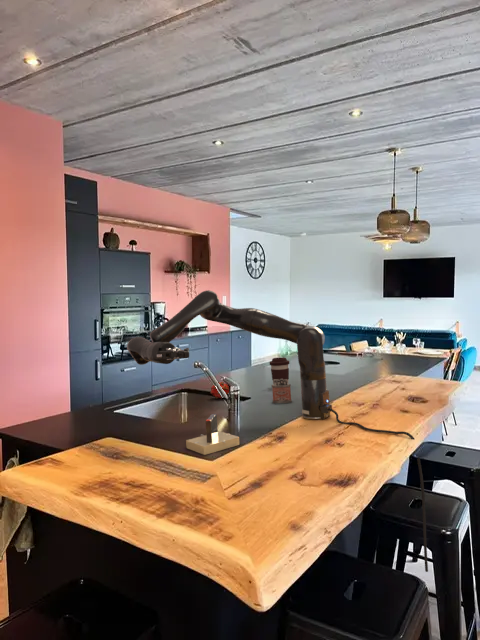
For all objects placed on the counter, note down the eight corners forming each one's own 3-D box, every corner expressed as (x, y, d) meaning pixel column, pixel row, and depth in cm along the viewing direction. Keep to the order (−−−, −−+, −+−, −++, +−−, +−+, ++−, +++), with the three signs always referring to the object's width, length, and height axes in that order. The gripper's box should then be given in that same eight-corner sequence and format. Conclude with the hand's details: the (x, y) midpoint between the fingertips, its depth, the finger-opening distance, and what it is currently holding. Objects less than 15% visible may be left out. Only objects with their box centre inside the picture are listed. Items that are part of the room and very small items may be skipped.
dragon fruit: (211, 400, 228) (232, 405, 222) (203, 393, 222) (225, 398, 216) (218, 384, 232) (239, 389, 226) (210, 376, 225) (232, 381, 219)
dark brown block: (213, 434, 153) (211, 413, 153) (217, 434, 153) (216, 413, 153) (206, 442, 144) (205, 420, 144) (212, 442, 144) (210, 420, 144)
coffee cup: (283, 390, 234) (281, 359, 234) (267, 389, 241) (265, 359, 241) (294, 386, 242) (293, 357, 241) (279, 385, 248) (277, 356, 248)
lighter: (291, 400, 209) (290, 377, 209) (291, 402, 205) (290, 379, 205) (272, 401, 210) (271, 378, 209) (272, 403, 206) (271, 380, 206)
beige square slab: (218, 438, 158) (217, 429, 158) (243, 445, 148) (242, 437, 147) (183, 447, 150) (182, 438, 150) (207, 456, 139) (206, 447, 139)
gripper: (143, 343, 165) (168, 345, 151) (176, 340, 173) (203, 341, 160) (144, 365, 165) (169, 369, 152) (178, 360, 174) (204, 363, 160)
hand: (186, 354), depth 156 cm, fingers closed
